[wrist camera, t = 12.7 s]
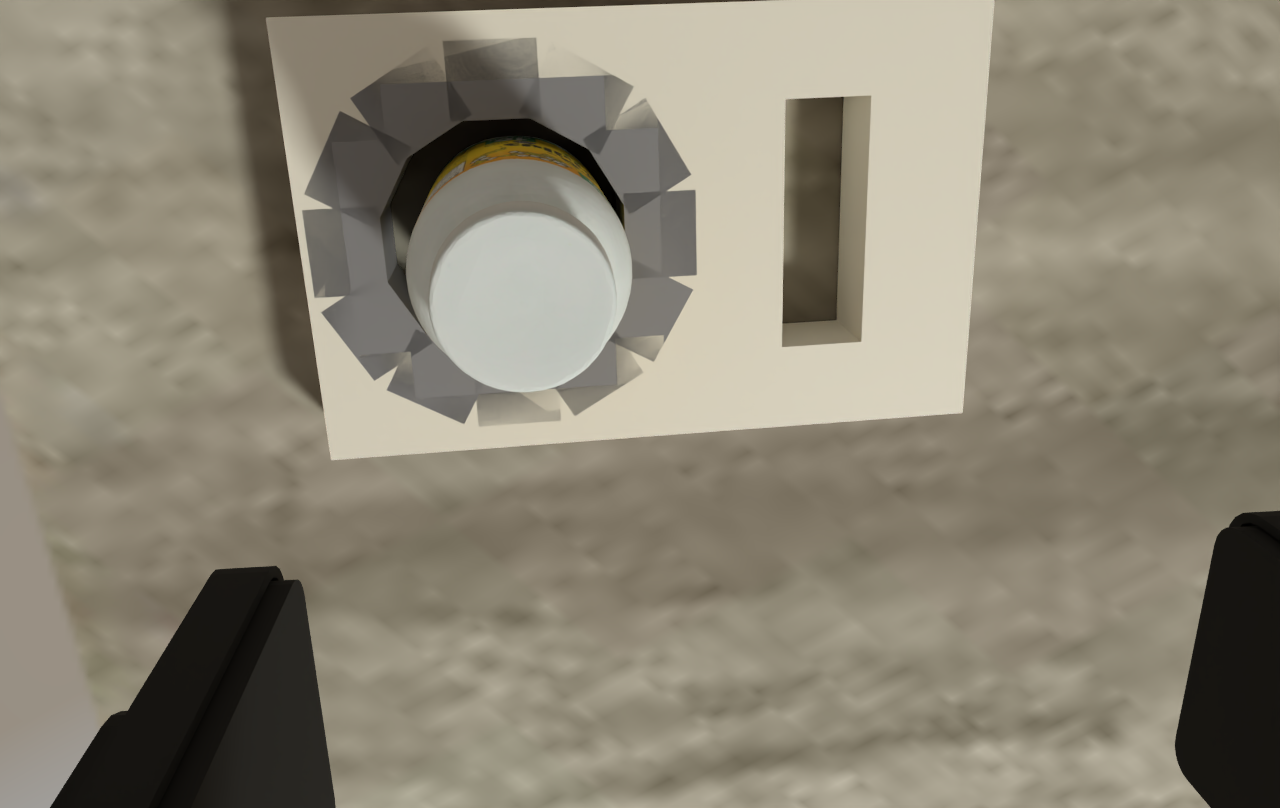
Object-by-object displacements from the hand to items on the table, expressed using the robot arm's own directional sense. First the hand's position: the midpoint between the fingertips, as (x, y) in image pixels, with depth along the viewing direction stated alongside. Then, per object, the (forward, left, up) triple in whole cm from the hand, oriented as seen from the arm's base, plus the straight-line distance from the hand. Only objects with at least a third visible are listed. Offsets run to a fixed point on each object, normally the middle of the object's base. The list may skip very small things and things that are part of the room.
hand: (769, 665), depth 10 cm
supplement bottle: (+2, -1, -22) cm, 22 cm away
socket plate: (-1, -1, -22) cm, 22 cm away
